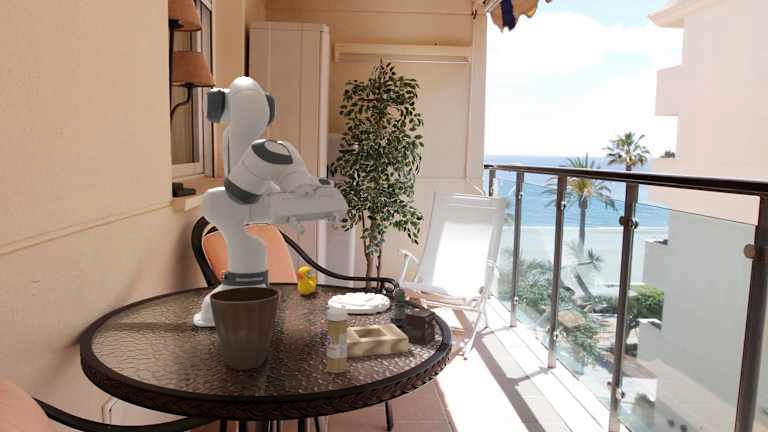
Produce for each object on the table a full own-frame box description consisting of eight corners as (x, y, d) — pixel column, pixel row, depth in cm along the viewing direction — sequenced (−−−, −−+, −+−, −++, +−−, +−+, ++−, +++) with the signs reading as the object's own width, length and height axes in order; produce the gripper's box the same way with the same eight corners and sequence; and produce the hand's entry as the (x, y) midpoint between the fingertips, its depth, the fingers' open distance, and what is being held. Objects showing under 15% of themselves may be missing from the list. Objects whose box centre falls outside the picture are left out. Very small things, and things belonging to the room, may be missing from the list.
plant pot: (214, 380, 106) (212, 304, 104) (207, 357, 119) (206, 289, 118) (286, 370, 112) (285, 298, 110) (272, 349, 125) (271, 284, 124)
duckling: (304, 298, 178) (304, 269, 177) (291, 297, 180) (291, 268, 179) (320, 291, 188) (320, 264, 188) (307, 290, 190) (307, 263, 189)
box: (424, 345, 130) (425, 316, 129) (403, 341, 133) (404, 313, 132) (435, 338, 135) (435, 311, 134) (415, 335, 138) (415, 308, 138)
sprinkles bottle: (322, 370, 112) (322, 309, 111) (337, 364, 116) (337, 305, 115) (336, 375, 109) (337, 313, 108) (351, 369, 113) (352, 309, 112)
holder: (343, 357, 120) (343, 343, 120) (333, 341, 131) (333, 328, 131) (408, 351, 125) (408, 337, 124) (393, 336, 136) (393, 323, 136)
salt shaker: (407, 332, 140) (408, 288, 139) (386, 330, 142) (387, 287, 141) (410, 326, 146) (411, 284, 145) (390, 324, 147) (391, 283, 146)
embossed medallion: (316, 307, 168) (316, 298, 168) (363, 297, 181) (363, 289, 181) (353, 319, 153) (353, 310, 153) (402, 308, 166) (402, 299, 166)
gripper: (263, 184, 125) (282, 226, 117) (338, 180, 136) (359, 218, 128) (258, 202, 129) (276, 244, 121) (331, 197, 140) (351, 234, 132)
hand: (319, 230), depth 125 cm, fingers open, 8 cm apart
